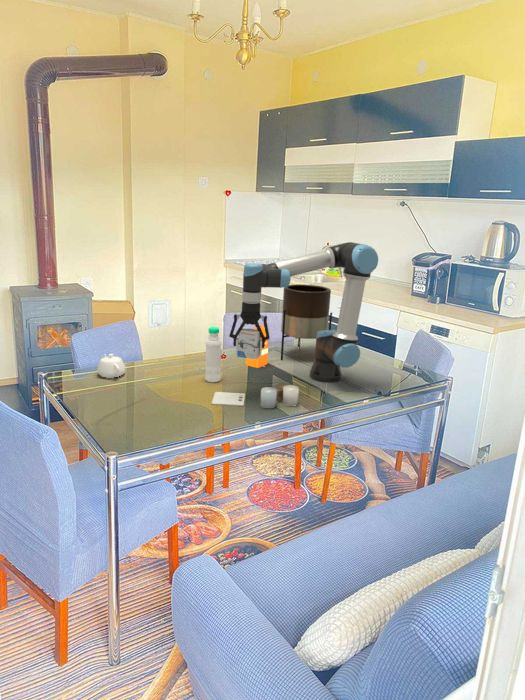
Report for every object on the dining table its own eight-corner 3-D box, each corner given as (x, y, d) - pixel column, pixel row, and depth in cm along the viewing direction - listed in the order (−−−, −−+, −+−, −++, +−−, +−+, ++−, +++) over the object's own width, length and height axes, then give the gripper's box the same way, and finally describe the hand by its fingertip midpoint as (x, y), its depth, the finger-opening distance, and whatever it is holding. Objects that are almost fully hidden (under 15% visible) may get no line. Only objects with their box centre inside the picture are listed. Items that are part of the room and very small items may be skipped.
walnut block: (282, 396, 221) (282, 385, 219) (287, 400, 216) (288, 389, 215) (271, 397, 219) (272, 386, 217) (277, 402, 214) (277, 390, 213)
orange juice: (267, 363, 263) (269, 326, 257) (258, 368, 256) (259, 329, 250) (254, 360, 267) (256, 323, 261) (245, 364, 260) (246, 326, 254)
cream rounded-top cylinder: (297, 401, 216) (298, 385, 214) (297, 407, 210) (299, 391, 208) (282, 400, 216) (283, 384, 214) (282, 406, 210) (283, 390, 208)
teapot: (91, 370, 241) (90, 350, 238) (117, 367, 248) (116, 346, 245) (104, 383, 225) (103, 361, 222) (132, 379, 232) (131, 358, 229)
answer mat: (245, 394, 220) (245, 393, 220) (243, 406, 208) (243, 404, 207) (215, 393, 220) (215, 391, 220) (211, 404, 208) (211, 403, 208)
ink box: (236, 356, 215) (237, 329, 211) (241, 353, 219) (242, 327, 216) (255, 360, 212) (257, 332, 209) (260, 356, 216) (261, 329, 213)
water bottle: (218, 383, 232) (219, 330, 225) (203, 381, 233) (203, 328, 226) (222, 378, 238) (223, 326, 231) (207, 377, 240) (208, 325, 233)
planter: (275, 348, 290) (279, 282, 280) (319, 349, 293) (324, 284, 283) (282, 363, 265) (286, 291, 254) (330, 363, 268) (336, 292, 257)
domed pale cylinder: (275, 403, 212) (276, 387, 210) (275, 409, 206) (276, 393, 204) (260, 402, 213) (261, 386, 211) (260, 408, 206) (260, 392, 204)
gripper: (278, 301, 212) (274, 353, 219) (225, 298, 213) (223, 350, 219) (278, 305, 205) (274, 358, 211) (223, 301, 206) (221, 355, 212)
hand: (248, 354), depth 215 cm, fingers closed on ink box, 9 cm apart
